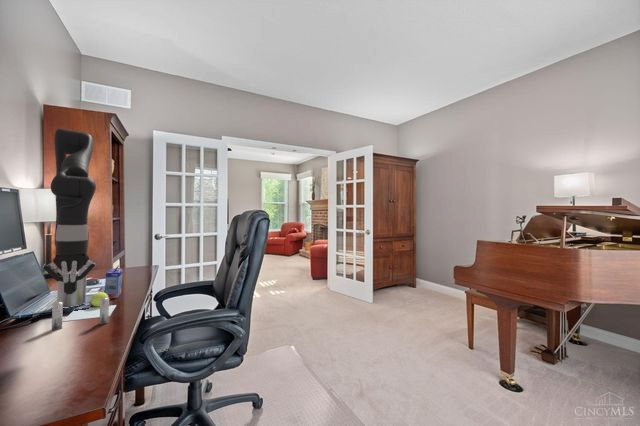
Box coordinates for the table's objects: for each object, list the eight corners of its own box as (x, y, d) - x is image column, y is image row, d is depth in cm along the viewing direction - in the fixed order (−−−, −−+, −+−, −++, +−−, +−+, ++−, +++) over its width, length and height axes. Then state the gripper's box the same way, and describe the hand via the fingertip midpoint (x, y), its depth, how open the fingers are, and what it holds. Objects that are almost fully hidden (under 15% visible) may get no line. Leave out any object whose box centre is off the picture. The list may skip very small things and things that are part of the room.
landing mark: (75, 309, 114) (75, 309, 114) (116, 305, 120) (116, 304, 120) (62, 321, 101) (62, 321, 101) (109, 316, 108) (109, 315, 108)
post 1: (53, 327, 96) (54, 302, 96) (63, 326, 97) (64, 301, 97) (50, 330, 93) (51, 304, 93) (60, 329, 95) (61, 303, 95)
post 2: (100, 322, 102) (101, 297, 102) (109, 321, 103) (110, 297, 103) (98, 324, 99) (99, 299, 99) (107, 323, 101) (108, 299, 101)
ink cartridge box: (118, 298, 130) (119, 267, 130) (103, 299, 128) (105, 268, 128) (122, 292, 139) (123, 264, 139) (108, 293, 136) (109, 264, 136)
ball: (92, 304, 120) (92, 290, 119) (109, 302, 123) (109, 289, 122) (88, 309, 115) (88, 296, 114) (106, 307, 117) (106, 294, 117)
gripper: (101, 237, 93) (99, 288, 93) (49, 238, 87) (47, 292, 87) (95, 239, 87) (93, 294, 86) (38, 240, 81) (36, 299, 80)
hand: (70, 293), depth 87 cm, fingers closed
